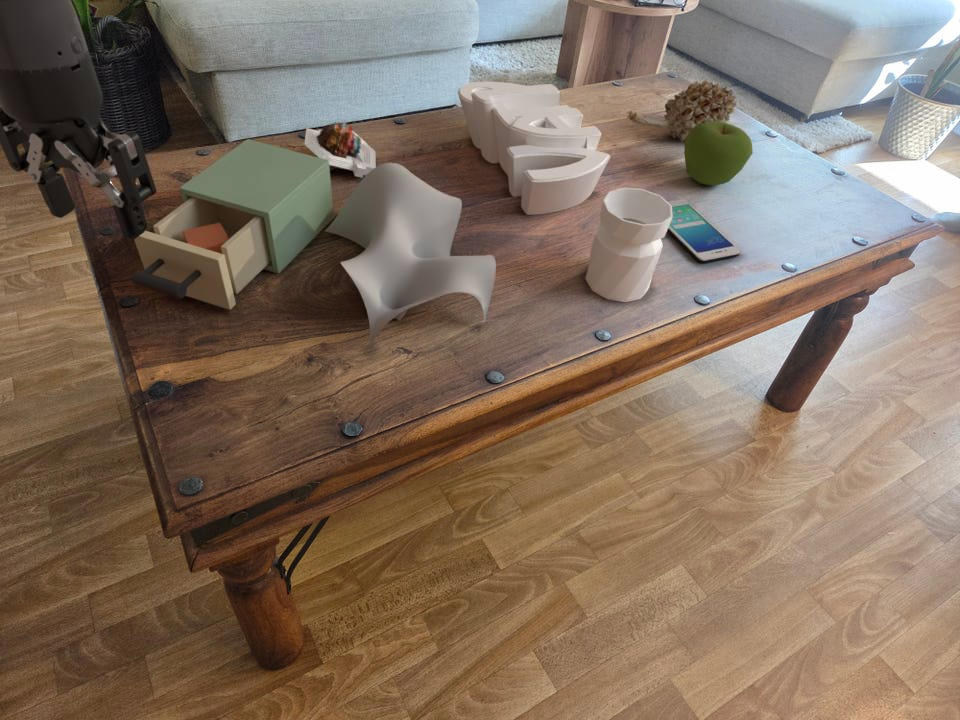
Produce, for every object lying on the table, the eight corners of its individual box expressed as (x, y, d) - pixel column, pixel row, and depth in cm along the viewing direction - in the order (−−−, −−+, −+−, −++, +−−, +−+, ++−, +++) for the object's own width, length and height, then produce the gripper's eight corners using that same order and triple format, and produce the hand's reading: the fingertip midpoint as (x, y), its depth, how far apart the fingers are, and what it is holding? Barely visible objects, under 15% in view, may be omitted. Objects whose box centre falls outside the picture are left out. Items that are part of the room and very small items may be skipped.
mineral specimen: (293, 137, 107) (303, 97, 102) (361, 152, 113) (374, 114, 108) (304, 180, 100) (316, 139, 95) (376, 193, 105) (390, 155, 101)
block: (199, 281, 80) (191, 250, 77) (190, 260, 82) (182, 230, 79) (237, 271, 82) (230, 241, 78) (227, 252, 84) (220, 222, 81)
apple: (677, 192, 108) (696, 135, 101) (670, 162, 116) (688, 106, 109) (742, 201, 108) (766, 144, 101) (732, 169, 115) (753, 115, 108)
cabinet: (278, 274, 85) (268, 213, 79) (195, 248, 87) (178, 187, 81) (334, 218, 95) (328, 160, 89) (257, 196, 97) (247, 138, 91)
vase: (614, 255, 94) (634, 180, 86) (661, 287, 90) (688, 211, 81) (571, 276, 90) (588, 199, 81) (618, 311, 85) (642, 233, 77)
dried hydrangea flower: (702, 120, 129) (719, 69, 122) (735, 142, 123) (754, 90, 116) (609, 134, 121) (621, 80, 114) (639, 159, 115) (654, 104, 108)
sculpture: (509, 321, 82) (519, 258, 75) (359, 351, 76) (355, 285, 69) (444, 214, 98) (447, 153, 91) (316, 232, 92) (309, 169, 85)
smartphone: (684, 198, 105) (743, 251, 96) (683, 203, 106) (741, 256, 96) (645, 204, 103) (701, 259, 93) (644, 209, 103) (699, 264, 94)
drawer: (207, 332, 75) (192, 282, 70) (123, 305, 77) (103, 254, 72) (291, 250, 87) (283, 202, 82) (217, 228, 90) (205, 180, 84)
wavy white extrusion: (615, 224, 100) (632, 160, 92) (514, 235, 95) (523, 169, 88) (534, 120, 123) (542, 62, 116) (449, 126, 119) (452, 66, 111)
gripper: (-82, 44, 51) (8, 224, 62) (71, 84, 48) (135, 265, 59) (0, 16, 56) (69, 188, 67) (142, 51, 53) (188, 223, 65)
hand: (100, 224), depth 63 cm, fingers open, 8 cm apart
